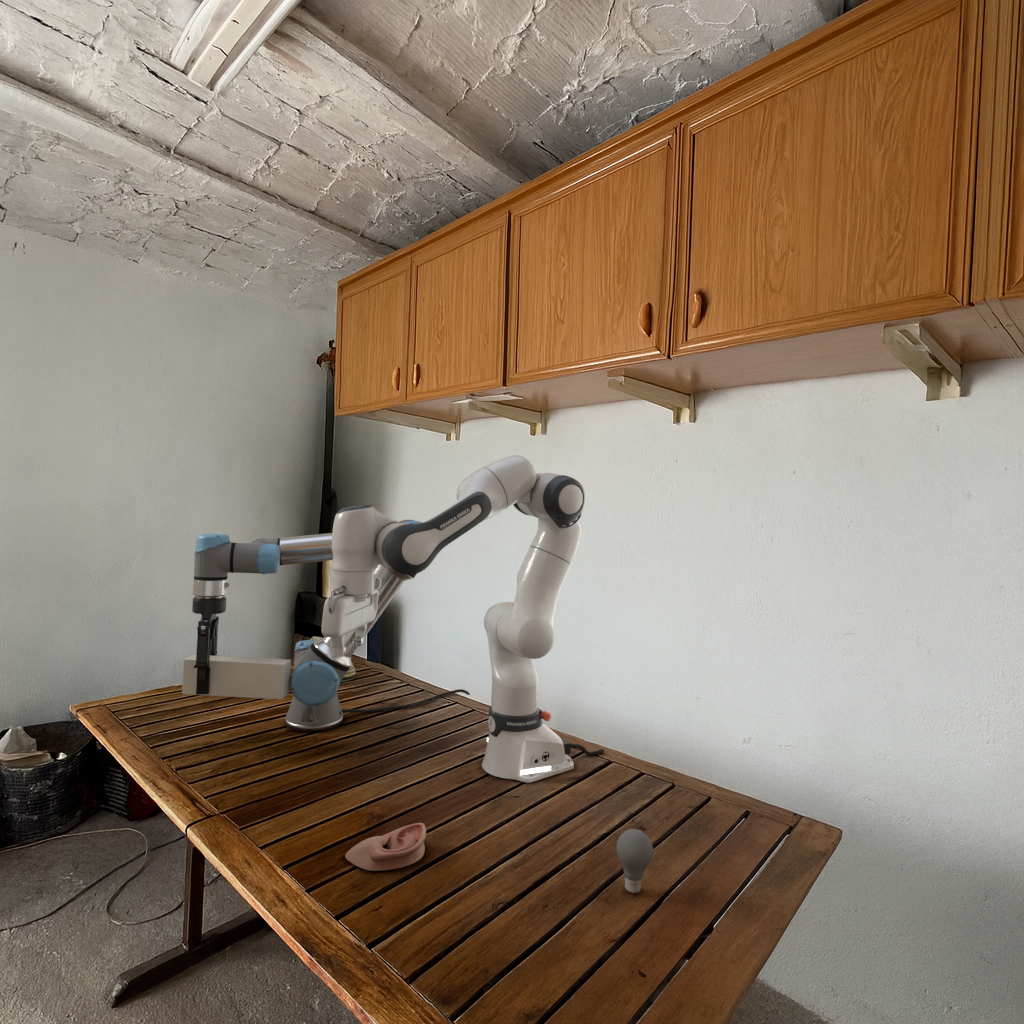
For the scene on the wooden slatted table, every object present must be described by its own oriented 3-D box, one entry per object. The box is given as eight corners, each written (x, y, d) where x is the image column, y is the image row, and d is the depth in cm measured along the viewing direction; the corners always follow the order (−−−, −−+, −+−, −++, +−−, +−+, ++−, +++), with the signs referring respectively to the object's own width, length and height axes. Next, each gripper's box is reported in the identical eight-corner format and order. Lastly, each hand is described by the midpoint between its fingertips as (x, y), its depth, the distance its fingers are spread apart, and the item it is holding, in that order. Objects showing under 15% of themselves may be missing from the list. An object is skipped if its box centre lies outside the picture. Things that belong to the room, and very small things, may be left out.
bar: (181, 694, 154) (183, 659, 154) (192, 688, 159) (193, 654, 159) (282, 699, 154) (284, 664, 154) (289, 693, 158) (291, 659, 158)
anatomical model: (337, 842, 109) (366, 811, 120) (336, 865, 109) (365, 832, 120) (410, 854, 106) (432, 821, 117) (409, 878, 106) (432, 842, 118)
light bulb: (610, 879, 108) (613, 822, 108) (644, 879, 109) (647, 822, 109) (619, 902, 102) (622, 840, 102) (655, 901, 103) (658, 840, 103)
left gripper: (219, 602, 148) (214, 701, 148) (232, 591, 166) (228, 679, 166) (184, 602, 146) (179, 702, 146) (201, 590, 164) (196, 679, 164)
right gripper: (346, 591, 119) (343, 664, 120) (383, 578, 140) (381, 641, 140) (314, 589, 120) (311, 661, 121) (356, 577, 141) (354, 639, 141)
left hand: (205, 689), depth 156 cm, fingers closed on bar, 6 cm apart
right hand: (349, 650), depth 130 cm, fingers open, 8 cm apart
